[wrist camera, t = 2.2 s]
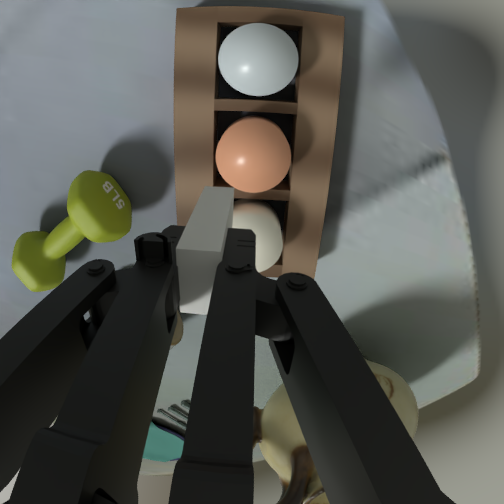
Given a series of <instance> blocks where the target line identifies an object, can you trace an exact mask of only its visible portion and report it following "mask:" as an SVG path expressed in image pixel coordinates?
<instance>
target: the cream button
mask: <svg viewBox="0 0 504 504" xmlns="http://www.w3.org/2000/svg"><path fill="white" fill-rule="evenodd" d="M232 228H239V229H251V230H252V231H253V232H254V233H255V234H256V263H255V266H256V269H257V271H258V272H262V271H265V270H267V269H268V268H270V267H271V266H273V265H274V264H275V263H276V262H277V260H278V259H279V257H280V255H281V252H282V248H283V241H282V234H281V227H280V221H279V217H278V215H277V213H276V211H275V210H274V209H273V207H271V206H270V205H269V204H268V203H266V202H264V201H262V200H259V199H240V200H237V201H235V202H234V204H233V226H232Z"/></svg>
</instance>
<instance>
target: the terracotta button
mask: <svg viewBox="0 0 504 504" xmlns="http://www.w3.org/2000/svg"><path fill="white" fill-rule="evenodd" d="M290 163H291V150H290V146H289V144H288V141H287V139H286V137H285V135H284V133H283V132H282V130H281V129H280V127H279V126H278V125H277V124H276V123H274V122H273V121H272V120H270V119H268V118H265V117H262V116H256V115H254V116H245V117H242V118H240V119H238V120H236V121H234V122H233V123H232V124H231V125H230V126H229V127H228V128H227V129H226V131H225V132H224V134H223V136H222V137H221V139H220V141H219V143H218V146H217V149H216V164H217V168H218V170H219V172H220V174H221V176H222V177H223V179H224V180H225V181H226V182H227V183H228V184H229V185H231V186H232V187H234V188H236V189H238V190H241V191H244V192H250V193H257V192H263V191H267V190H269V189H271V188H273V187H275V186H276V185H277V184H279V183H280V182H281V181H282V180H283V178H284V177H285V176H286V174H287V172H288V170H289V167H290Z"/></svg>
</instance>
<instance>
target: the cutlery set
mask: <svg viewBox="0 0 504 504" xmlns="http://www.w3.org/2000/svg"><path fill="white" fill-rule="evenodd" d="M181 405H182V406H183V407H185V408H187V409H188V410H189V409H190V404H188V403H187V402H186V401H182V402H181ZM168 411H170V412H172V413H174V414H176V415H177V416H179V417H181V418H183V419H185V420H187V421H188V417H186V416H185V415H183V414H182V413H180V412H179V411H177V410H176V409H174V408H173V407H172V406H171V407H168ZM158 412H159V413H160V414H162V415H164V416H166V417H167V418H169V419H170V420H171V421H173V422H175V423H176V424H177V425H178V427H182V428H183V429H186V427H187V425H184V424H183V423H182V422H178V421H176V420H174V419H172V418H171V417H169V416H167V415H166V414H164V413H163V412H162V411H160V409H158V411H157V413H158ZM184 439H185V438H184V437H183V436H181V435H180V434H178V433H176V432H174V431H171V430H169V429H167V428H164V427H161V426H158V425H155V424H154V423H153V422H152V421H151V423H150V427H149V432H148V436H147V440H146V444H145V449H144V453H143V458H145V459H149V460H154V461H162V462H167V461H173V460H179V459H180V458H181V455H182V450H183V445H184Z"/></svg>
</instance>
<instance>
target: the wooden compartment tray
mask: <svg viewBox="0 0 504 504" xmlns="http://www.w3.org/2000/svg"><path fill="white" fill-rule="evenodd" d="M344 22H345V17H343V16H338V15H332V14H325V13H319V12H311V11H303V10H294V9H283V8H269V7H248V6H210V7H189V8H177V13H176V32H175V58H174V160H175V188H176V209H177V226H186V225H187V223H188V221H189V218H190V216H191V214H192V212H193V210H194V208H195V206H196V204H197V202H198V199H199V197H200V195H201V193H202V191H203V189H204V187H205V186H212V187H230V188H234V187H232V186H231V185H229V184H228V183H227V182H226V181H225V180H224V179H223V177H217V164H216V149H217V128H218V111H252V112H271V113H285V114H293V121H292V134H291V146H290V150H291V163H290V167H289V170H288V181H286V180H282V181H281V182H280V183H279V184H277V185H276V186H275V187H273V188H271V189H269V190H267V191H263V192H257V193H250V192H244V191H241V190H238V189H236V188H234V198H245V199H265V200H283V201H286V203H285V213H284V224H283V234H282V241H283V248H282V252H281V255H280V257H279V259H278V260H277V262H276V263H275V264H274V265H273V266H271V267H270V268H268V269H267V270H265V271H262V272H259V273H260V274H261V275H263V276H265V277H279V276H281V275H283V274H285V273H290V272H298V273H302V274H306V275H308V276H309V277H311V278H313V279H314V277H315V271H316V265H317V260H318V254H319V248H320V242H321V236H322V230H323V223H324V217H325V210H326V203H327V196H328V189H329V182H330V175H331V167H332V159H333V151H334V142H335V134H336V124H337V115H338V105H339V94H340V82H341V70H342V56H343V41H344ZM251 23H265V24H270V25H273V26H276V27H277V28H279V29H281V30H292V31H298V48H297V52H298V68H297V71H296V79H295V94H294V101H288V100H274V99H257V98H229V97H218V91H219V63H218V56H219V50H220V41H221V27H241V26H243V25H247V24H251Z"/></svg>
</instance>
